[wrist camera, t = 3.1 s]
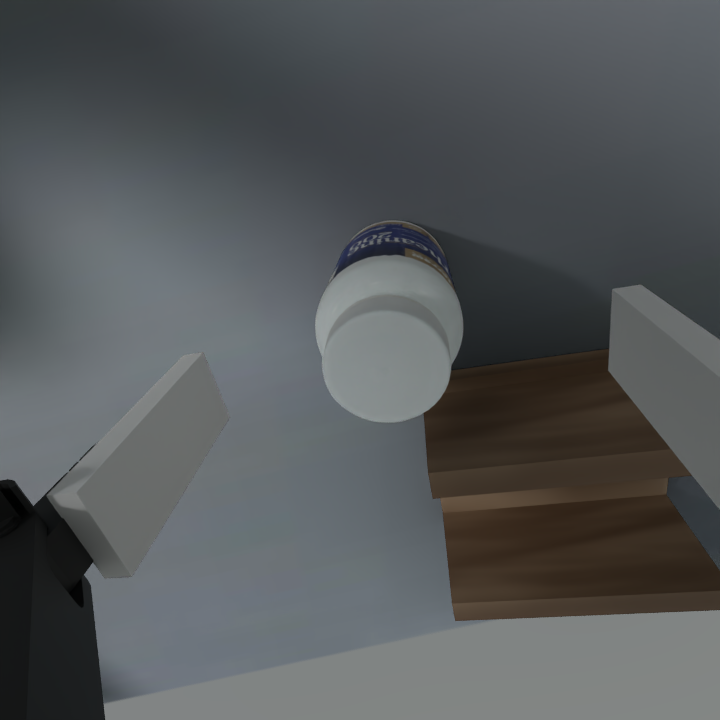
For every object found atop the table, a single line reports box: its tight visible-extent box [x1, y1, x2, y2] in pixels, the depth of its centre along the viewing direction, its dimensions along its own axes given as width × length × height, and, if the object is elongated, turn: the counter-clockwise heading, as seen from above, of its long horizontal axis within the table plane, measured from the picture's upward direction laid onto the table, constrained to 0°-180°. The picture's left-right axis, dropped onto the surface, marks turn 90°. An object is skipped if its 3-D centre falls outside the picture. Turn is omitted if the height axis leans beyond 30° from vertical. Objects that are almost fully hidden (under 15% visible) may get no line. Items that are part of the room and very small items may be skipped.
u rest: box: [424, 349, 720, 621], centre depth 23 cm, size 12×13×7 cm
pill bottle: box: [315, 220, 463, 423], centre depth 18 cm, size 5×5×10 cm
